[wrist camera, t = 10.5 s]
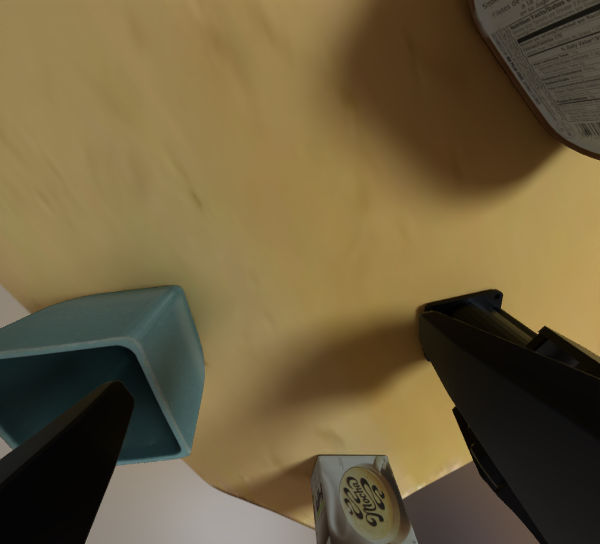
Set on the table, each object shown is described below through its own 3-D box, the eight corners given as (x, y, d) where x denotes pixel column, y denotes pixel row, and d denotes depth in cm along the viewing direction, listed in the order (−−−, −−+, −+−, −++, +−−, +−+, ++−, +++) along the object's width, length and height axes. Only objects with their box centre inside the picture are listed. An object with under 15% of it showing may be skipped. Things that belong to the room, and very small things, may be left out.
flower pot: (79, 271, 18) (-81, 363, 10) (198, 257, 19) (133, 337, 10) (126, 360, 22) (37, 478, 14) (225, 347, 22) (193, 458, 14)
